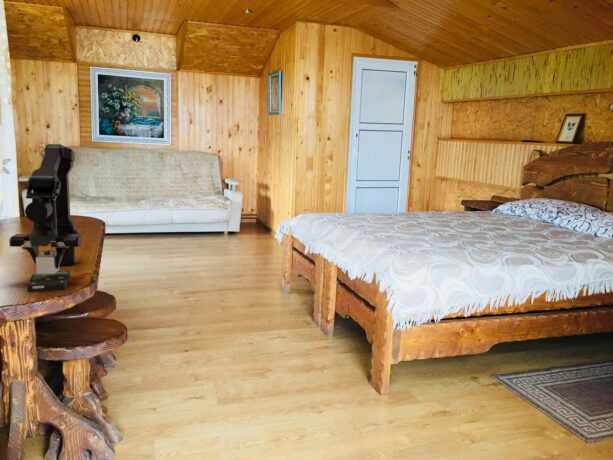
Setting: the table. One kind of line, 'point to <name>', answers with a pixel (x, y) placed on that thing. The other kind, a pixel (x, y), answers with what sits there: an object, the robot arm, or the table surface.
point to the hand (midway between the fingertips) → (47, 268)
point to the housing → (46, 263)
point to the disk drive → (48, 281)
